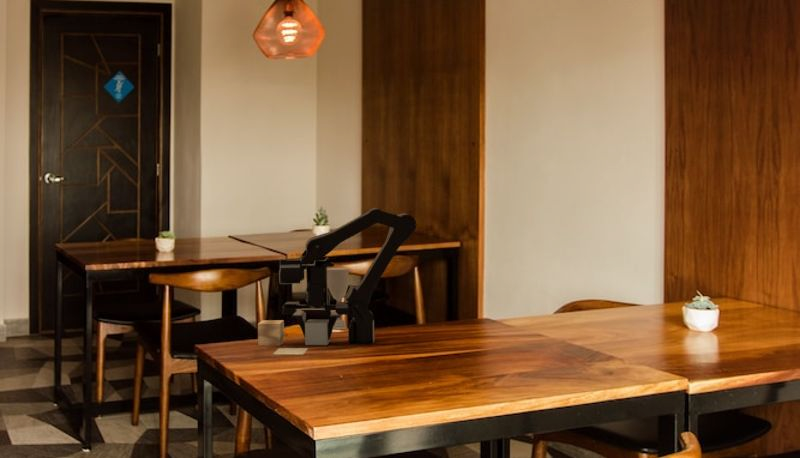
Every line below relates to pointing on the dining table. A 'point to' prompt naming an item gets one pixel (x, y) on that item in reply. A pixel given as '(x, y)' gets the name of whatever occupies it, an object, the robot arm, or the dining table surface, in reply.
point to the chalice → (338, 288)
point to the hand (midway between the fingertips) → (317, 339)
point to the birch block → (270, 332)
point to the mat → (290, 351)
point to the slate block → (316, 332)
